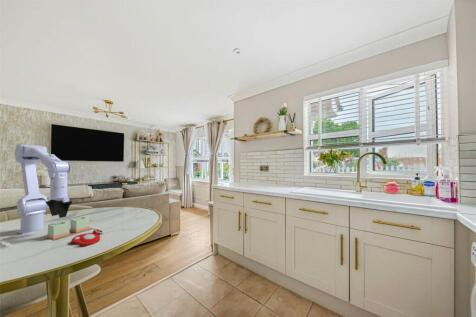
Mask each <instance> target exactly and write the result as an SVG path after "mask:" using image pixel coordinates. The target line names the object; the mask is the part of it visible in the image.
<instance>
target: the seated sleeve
mask: <svg viewBox="0 0 476 317" xmlns="http://www.w3.org/2000/svg"><path fill="white" fill-rule="evenodd" d="M90 224H91V222H90V217H88V216H80V217H75V218H72V219H70V227H69V230H70V231H72V232H80V231H83V230H87V229H90V228H91V225H90Z"/></svg>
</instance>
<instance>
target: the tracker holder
mask: <svg viewBox="0 0 476 317" xmlns="http://www.w3.org/2000/svg"><path fill="white" fill-rule="evenodd" d="M92 230H93V231H92V232H88V233H86V232H85V233H79V234H76V235H75V236H74V237H73V238H71V240H70V242H69V244H70V245H72V244H74V245H78V246H81V247H89V246H92V245H95V244H97V243H99V242H100V240H101V236H100V235H102V234H104V232H103V229H102V230H101V229H99V228H98V229H97V228H93V229H92Z"/></svg>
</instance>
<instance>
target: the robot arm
mask: <svg viewBox="0 0 476 317" xmlns="http://www.w3.org/2000/svg"><path fill="white" fill-rule="evenodd" d="M14 156H15V161H16V163H19V164H20V167H21V172H22V173H21V174H22V175H21V176H22V180H23V189H24V196H22V197H21V198H19V199H18V200H17V203H16V204H17V206H16V212H17V214H19V216H21V218H20V230H18V231H17V233H19V234H22V235H24V234H28V233H32V232H37V231H41V230H44V229H46V227H45V213H46V212H47V211H48V209H49V211H50V214H51V217H55V216H58V217H59V219H62V218H66V217H67V214H68V211H69V209H70V206H71V205H72V203H73V200H70V197H69V196H68V174H69V173H70V171H71V164H70V162H69V161H68V160H67V161H62V159H60V158H59V157H57V156H56V155H55V154H53V153H52V154H51V153H48V148H47V146H45V145H35V144H34V145H32V144H21V143H19V144H17V145H16V146H15V149H14ZM38 163H41V164H42V165H44V167H46V169H47V173H48V177H49V179H50V184H49V186H50V189H49V190H50V191H49V194H50V195H49V196H48V197H47V195H44V194H43V193H41V192H40V186H39V179H38V172H37V165H36V164H38Z"/></svg>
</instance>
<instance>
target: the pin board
mask: <svg viewBox="0 0 476 317" xmlns="http://www.w3.org/2000/svg"><path fill="white" fill-rule="evenodd" d="M93 229H94V228H93V227H90V229H87V230H83V231H80V232H72V231H70V229H69V232H70V235H66V236H63V237H59V238H56V239H51V238H49V237H48V235H45V236H44V239H48V240H51V241H57V240H61V239H64V238H68V237H71V236H74V235H75V236H76V235H79V234H83V233H86V232H88V231H91V230H93Z"/></svg>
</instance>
